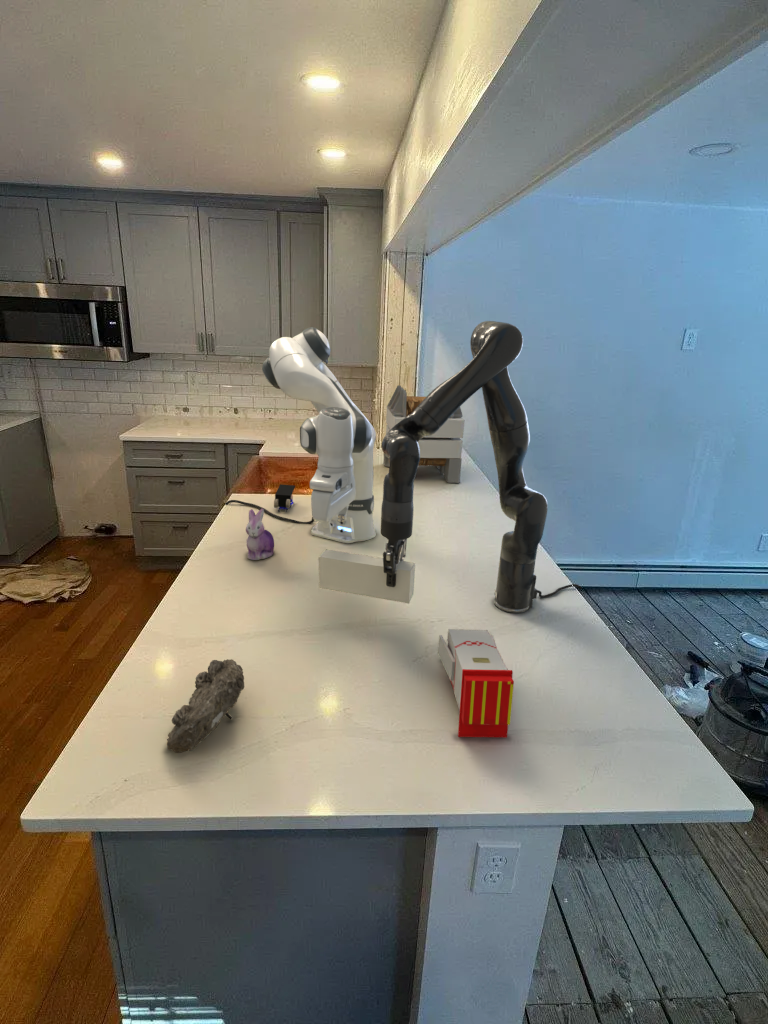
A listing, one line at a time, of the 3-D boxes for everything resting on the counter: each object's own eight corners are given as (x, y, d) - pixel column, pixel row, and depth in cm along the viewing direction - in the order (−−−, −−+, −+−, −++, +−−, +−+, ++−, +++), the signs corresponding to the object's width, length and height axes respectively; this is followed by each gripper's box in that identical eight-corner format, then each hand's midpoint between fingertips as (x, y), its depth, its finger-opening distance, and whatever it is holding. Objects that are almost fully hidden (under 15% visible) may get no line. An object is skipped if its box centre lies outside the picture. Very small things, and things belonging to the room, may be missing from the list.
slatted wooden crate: (382, 463, 289) (386, 382, 275) (445, 464, 293) (451, 384, 279) (390, 482, 257) (394, 392, 243) (460, 483, 261) (468, 394, 247)
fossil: (192, 660, 117) (244, 628, 112) (224, 691, 120) (276, 661, 115) (142, 746, 98) (202, 712, 93) (182, 779, 101) (242, 748, 96)
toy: (488, 613, 130) (523, 677, 101) (484, 667, 133) (517, 744, 104) (435, 612, 130) (455, 676, 101) (432, 666, 133) (451, 743, 103)
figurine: (249, 563, 172) (248, 517, 167) (241, 550, 180) (239, 506, 175) (280, 558, 176) (279, 513, 171) (270, 546, 184) (269, 502, 179)
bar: (318, 588, 143) (318, 556, 140) (325, 579, 147) (326, 549, 144) (408, 603, 137) (410, 571, 134) (413, 594, 141) (415, 562, 138)
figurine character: (291, 517, 214) (296, 500, 227) (290, 499, 211) (295, 483, 224) (273, 516, 214) (279, 500, 227) (272, 498, 210) (278, 482, 224)
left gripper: (339, 463, 150) (339, 512, 155) (306, 484, 132) (306, 539, 136) (361, 466, 148) (360, 515, 153) (331, 487, 130) (331, 543, 135)
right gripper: (405, 528, 126) (401, 597, 132) (419, 508, 139) (415, 571, 145) (372, 524, 128) (370, 591, 133) (389, 504, 141) (387, 567, 146)
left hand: (335, 527), depth 144 cm, fingers open, 8 cm apart
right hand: (393, 580), depth 139 cm, fingers closed on bar, 5 cm apart
